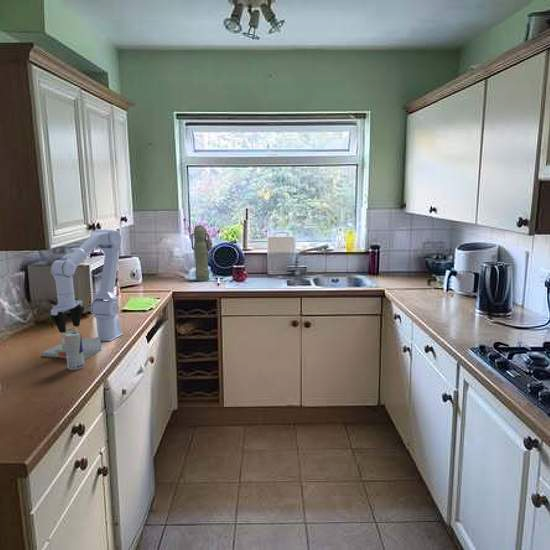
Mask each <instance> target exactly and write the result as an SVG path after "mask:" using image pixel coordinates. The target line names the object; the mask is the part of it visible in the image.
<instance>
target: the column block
mask: <svg viewBox="0 0 550 550" xmlns="http://www.w3.org/2000/svg"><path fill="white" fill-rule="evenodd" d="M75 331H77V332H79V331H78V328H74V327H73V328H71V327H70V328H69V327H66V332H65V333H61V332H60V336H61V344H62V347H65V341H64V336H65V334H66V333H69V332H75Z"/></svg>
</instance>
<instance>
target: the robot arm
mask: <svg viewBox="0 0 550 550" xmlns="http://www.w3.org/2000/svg"><path fill="white" fill-rule="evenodd" d="M89 235H90V236H89V237H88V238H87V239H86V240H84V241H83V243H82V244H81V245H80V246H79V247H72V248H71V247H70V250H69V251H68V253H66V254H65V255H63V256H62V257H61V258H60V259H56V260H54V262H53V263H52V264H51V266H50V273H51V275H52V276H53V280H54V281H55V286H56V287H55V288H56V297H57V303H58V304H56V305H55V307H53V308H52V309H51V310H50V315H49V316H50V318H51V319H52V320H53V321H54V323H55V324H56V327H57V329H58V332H59V333H60V334H61V333H65V332H66V329H67V327H66V325H67V324H66V323H67V317H68V314H66V313H64V312H66V311H67V312H68V311H69V314H70V316H71V321H72V326H73V327H80V323H81V319H82V318H81V317H82V314H83V312H84V309H85V307H84V306H83V305H84V304H83V300H82V299H77V300H76V298H75V297H76V295H75V290H74V289H75V288H74V278H73V275H75V273H76V269H77V268H78V267H79V266H80V265H81V264H82V263H83V262H84V261H85V260H86V258H87V256H86V255H87V254H88V253H90V252H91V251H93V250H94V249H95V248H96V247H98V248H99V249H100V250H101V251H102V252H103V253H104V260H103V265H102V272H101V279H100V286H99V290H98V291H99V292H98V293H97V294H95V295H94V296H93V300H92V302H91V304H90V312H91V314H92V315H93V316H94V318H95V321H96V323H95V324H96V333H97V336H96V337H94V338H93V339H100V341H102V342H103V341H104V342H111V341H113V340H115V339H118V337H121V336H123V335H124V333H123V332H122V327H121V318H120V317H119V315H118V312H119V308H120V307H119V298H118V297H117V296H116V295H115V294H114V293H115V292H114V291H115V287H116V286H115V285H116V280H117V272H118V271H117V270H118V267H119V266H118V265H119V260H120V259H119V258H120V252H121V251H120V249H121V242H122V235H121V234H120V232H119V230H118V229H115V228H113V229H100V228H96V229H93V231H92V232H90V234H89Z"/></svg>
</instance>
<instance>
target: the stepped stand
mask: <svg viewBox="0 0 550 550" xmlns="http://www.w3.org/2000/svg"><path fill="white" fill-rule="evenodd" d="M82 347H83V357H84V361H85V360H87V359H88V357H89V358H90V357H92V356H94V355H96V354H98V353H99V351H100V352H102V344H101V340H100V339H94V338H91V337H88V338H87V337H86V338H84V339H82ZM45 356H46V357H47V358H57V357H60V358H59V359H66V350H65V347H62V343H59V344H57V345H55V346H53V347H50V348H48V349H46V350H44V351H42V352H41V357H45ZM46 357H45V358H46Z"/></svg>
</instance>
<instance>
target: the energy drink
mask: <svg viewBox="0 0 550 550" xmlns="http://www.w3.org/2000/svg"><path fill="white" fill-rule="evenodd" d="M82 340H83V338H82V334H81V331H78V332H77V331H75V332H69V333H66V334H65V336H64V341H65V350H66V358H65V359H66V365H67V369H68V370H69V371H77V369H78V370H81V369H83V368H84V367H85V360H84V357H83V347H82Z"/></svg>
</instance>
